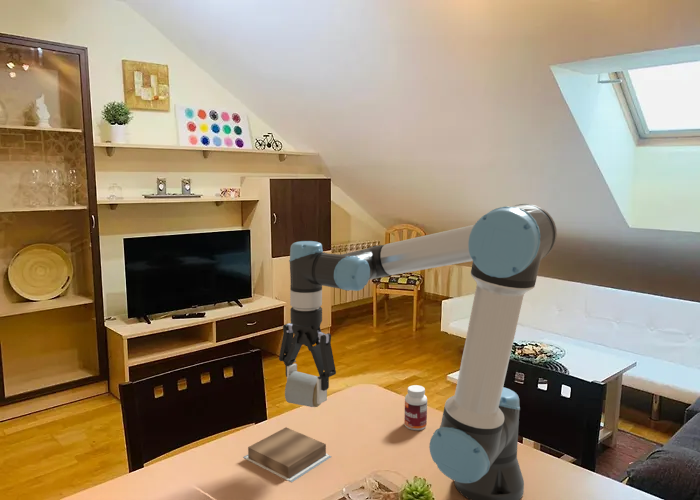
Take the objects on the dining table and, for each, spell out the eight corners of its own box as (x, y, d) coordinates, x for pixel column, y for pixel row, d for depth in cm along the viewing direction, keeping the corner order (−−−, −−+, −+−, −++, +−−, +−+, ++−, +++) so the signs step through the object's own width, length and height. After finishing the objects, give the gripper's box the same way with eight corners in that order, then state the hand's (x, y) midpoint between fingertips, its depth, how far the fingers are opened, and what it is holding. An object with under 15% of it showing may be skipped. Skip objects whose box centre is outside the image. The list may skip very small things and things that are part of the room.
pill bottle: (399, 425, 149) (400, 388, 147) (414, 418, 153) (414, 381, 152) (416, 433, 145) (417, 395, 143) (431, 426, 149) (432, 388, 147)
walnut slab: (325, 455, 133) (325, 444, 133) (288, 478, 123) (288, 466, 123) (286, 437, 142) (286, 427, 141) (248, 458, 132) (248, 447, 131)
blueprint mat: (332, 457, 133) (332, 455, 133) (291, 483, 122) (291, 482, 122) (284, 436, 143) (283, 434, 143) (242, 458, 132) (242, 457, 132)
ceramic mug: (315, 413, 126) (315, 382, 124) (284, 407, 128) (284, 377, 127) (332, 395, 135) (332, 366, 134) (302, 390, 138) (302, 362, 137)
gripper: (352, 312, 123) (351, 403, 126) (285, 296, 136) (286, 379, 140) (330, 319, 117) (330, 415, 121) (263, 301, 131) (264, 388, 134)
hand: (306, 395), depth 130 cm, fingers closed on ceramic mug, 9 cm apart
